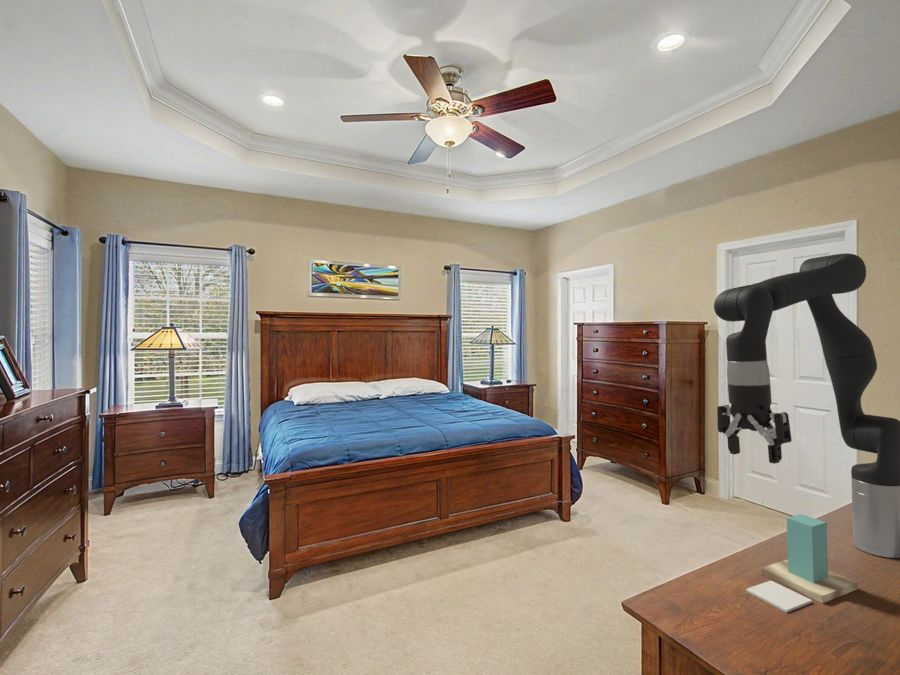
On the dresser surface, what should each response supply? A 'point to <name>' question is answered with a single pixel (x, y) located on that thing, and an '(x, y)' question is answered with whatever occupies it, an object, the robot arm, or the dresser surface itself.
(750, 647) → the dresser surface
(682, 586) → the dresser surface
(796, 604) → the mat
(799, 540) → the tall teal pillar
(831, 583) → the post stand
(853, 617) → the dresser surface
